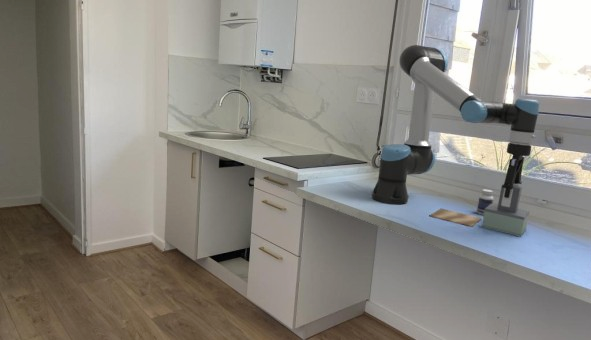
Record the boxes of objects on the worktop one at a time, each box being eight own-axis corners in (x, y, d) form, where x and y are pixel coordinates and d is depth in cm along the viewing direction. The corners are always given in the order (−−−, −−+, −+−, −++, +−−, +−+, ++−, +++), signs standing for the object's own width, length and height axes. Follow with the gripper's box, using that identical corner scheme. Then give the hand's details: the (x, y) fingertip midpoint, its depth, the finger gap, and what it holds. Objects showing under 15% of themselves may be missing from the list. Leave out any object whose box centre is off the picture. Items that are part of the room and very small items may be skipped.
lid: (484, 211, 159) (489, 184, 157) (491, 205, 167) (496, 180, 165) (523, 220, 151) (529, 192, 149) (529, 213, 160) (534, 187, 158)
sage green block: (481, 226, 160) (484, 211, 159) (488, 220, 169) (491, 205, 167) (520, 236, 152) (524, 220, 151) (526, 229, 161) (529, 213, 160)
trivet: (429, 216, 167) (429, 215, 167) (440, 209, 179) (441, 208, 179) (472, 227, 158) (472, 226, 158) (481, 219, 170) (481, 218, 169)
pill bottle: (492, 216, 175) (496, 192, 173) (477, 214, 176) (482, 191, 174) (488, 212, 180) (493, 189, 178) (475, 210, 181) (479, 188, 179)
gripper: (526, 147, 143) (513, 211, 147) (536, 142, 161) (525, 200, 166) (501, 144, 147) (490, 206, 151) (514, 139, 165) (504, 195, 170)
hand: (508, 203), depth 159 cm, fingers open, 11 cm apart
